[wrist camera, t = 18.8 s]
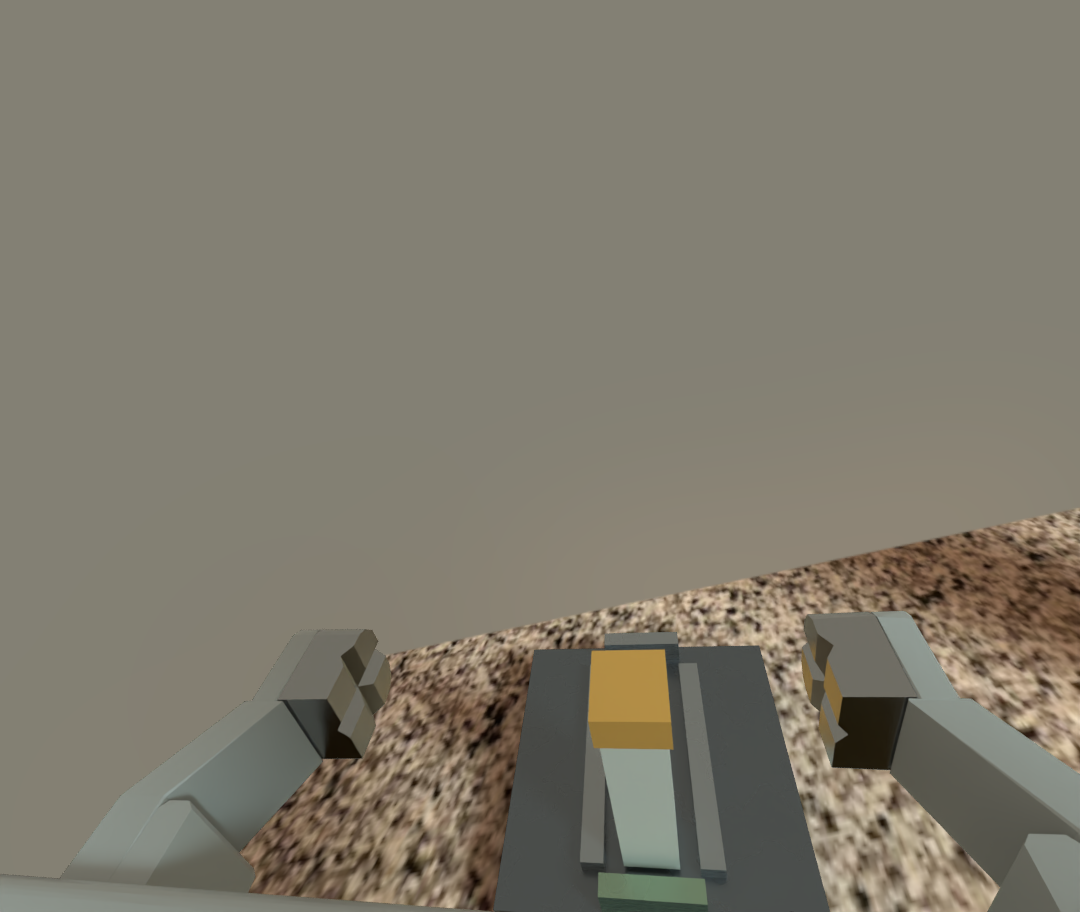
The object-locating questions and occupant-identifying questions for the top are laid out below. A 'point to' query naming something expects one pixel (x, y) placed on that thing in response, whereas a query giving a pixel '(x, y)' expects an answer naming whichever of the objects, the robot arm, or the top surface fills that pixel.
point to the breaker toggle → (636, 752)
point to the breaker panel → (699, 792)
